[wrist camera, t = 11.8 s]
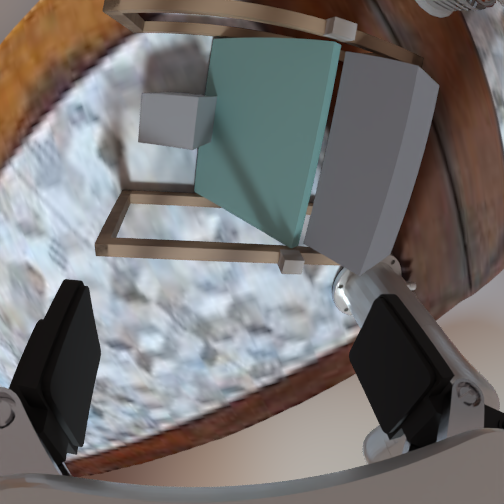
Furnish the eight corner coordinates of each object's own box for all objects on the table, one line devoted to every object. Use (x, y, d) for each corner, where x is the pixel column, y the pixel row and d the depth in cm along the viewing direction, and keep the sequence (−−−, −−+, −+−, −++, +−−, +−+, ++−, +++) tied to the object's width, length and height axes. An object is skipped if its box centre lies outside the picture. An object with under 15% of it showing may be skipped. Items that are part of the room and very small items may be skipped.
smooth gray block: (198, 97, 26) (142, 93, 26) (192, 149, 28) (138, 142, 29) (217, 96, 30) (166, 91, 31) (211, 141, 32) (162, 134, 33)
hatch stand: (356, 56, 31) (434, 57, 19) (322, 213, 42) (372, 275, 30) (135, 22, 26) (100, -9, 13) (122, 200, 36) (91, 266, 24)
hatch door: (440, 80, 21) (415, 55, 16) (388, 258, 30) (351, 285, 25) (264, 50, 33) (213, 39, 28) (242, 183, 42) (194, 191, 37)
